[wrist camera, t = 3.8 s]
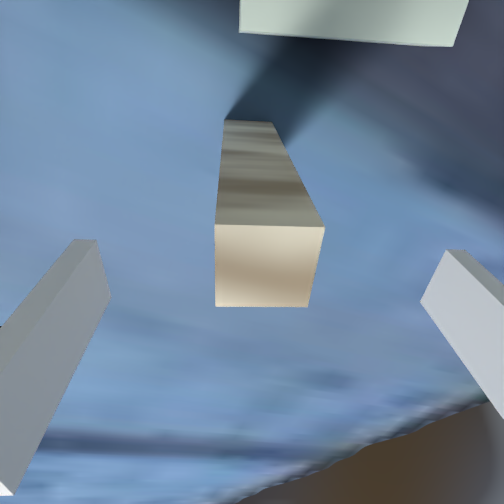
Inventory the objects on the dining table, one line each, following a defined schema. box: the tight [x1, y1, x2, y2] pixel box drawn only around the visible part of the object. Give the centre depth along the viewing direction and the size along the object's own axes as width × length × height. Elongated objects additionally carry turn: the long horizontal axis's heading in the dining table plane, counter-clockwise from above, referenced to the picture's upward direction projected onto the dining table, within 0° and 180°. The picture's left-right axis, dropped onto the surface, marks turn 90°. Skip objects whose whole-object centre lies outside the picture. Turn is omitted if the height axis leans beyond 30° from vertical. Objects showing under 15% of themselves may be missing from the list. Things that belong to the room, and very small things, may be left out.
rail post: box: [215, 119, 325, 307], centre depth 20 cm, size 4×4×18 cm
